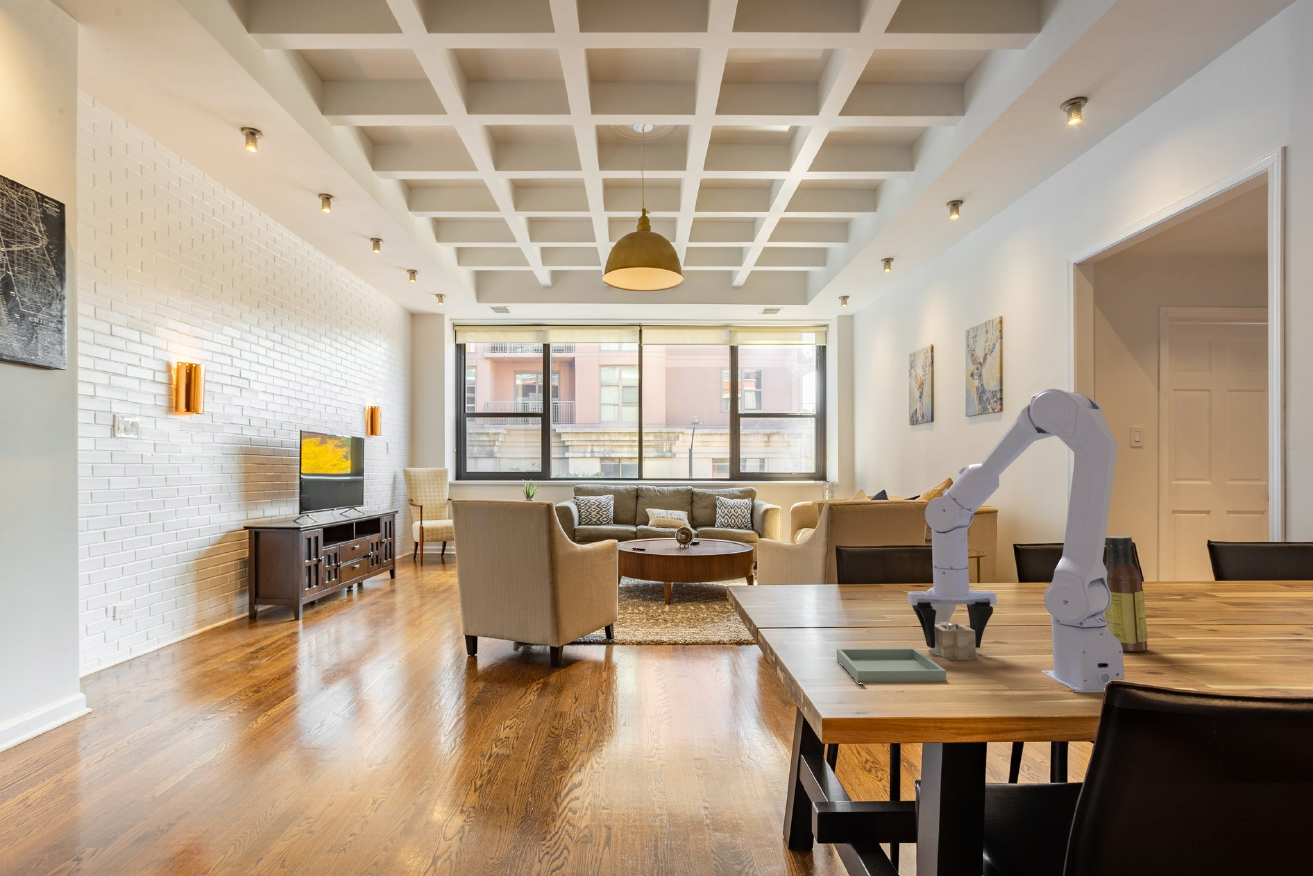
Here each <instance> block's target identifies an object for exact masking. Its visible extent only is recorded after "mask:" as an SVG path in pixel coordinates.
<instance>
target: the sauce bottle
mask: <svg viewBox="0 0 1313 876" xmlns="http://www.w3.org/2000/svg"><path fill="white" fill-rule="evenodd" d="M1132 545H1133V539H1132V536H1130V535H1129V536H1128V535H1106V539H1105V547H1106V564H1105V568H1106V570H1107V585H1108V587H1109V590H1110V592H1111V603H1110V606H1109V607H1108V609H1107V610H1106V611H1105V612H1104V615H1105V617H1106V620H1107V626H1108V630H1109V632H1110V633H1111V634H1112V635H1114V636H1115V637H1116V638H1117V639H1118V640H1119V642H1120V643H1121V645H1122V649H1123V652H1130V653H1131V652H1132V653H1139V652H1140V653H1141V652H1145V651H1147V650H1148V647H1149V646H1148V643H1147V642H1148V629H1147V618H1146V616H1147V615H1146V606H1145V596H1144V595H1145V593H1144V588H1143V578H1142V576H1141V574H1140V571H1139V569H1138V568H1137V567H1136V566H1135V564H1134V560H1133V554H1132Z"/></svg>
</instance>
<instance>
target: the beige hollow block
mask: <svg viewBox="0 0 1313 876" xmlns="http://www.w3.org/2000/svg"><path fill="white" fill-rule="evenodd" d="M947 623H948V622H938V624H935V648H931V649H932V650H934V651H935V652H936V653H938V654H939V655H941V656H942V657H955V658H957V659H958V660H959V661H966V660H967V661H968V660H970V659H968V657H976V653H977V648H976V641H975V630H973V629H971V628H970V626H969V627H968V626H966V625H965V624H963V623H957V624H958V629H947Z"/></svg>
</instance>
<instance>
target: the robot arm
mask: <svg viewBox="0 0 1313 876" xmlns="http://www.w3.org/2000/svg"><path fill="white" fill-rule="evenodd" d="M1051 437H1057V438H1059V439H1060V440H1061V441H1062V442H1063V443H1064V444H1065V445H1066V446H1067V447H1068V448H1069V450H1071V451H1072V452H1073V453H1074V462H1073V463H1074V464H1073V472H1072V479H1071V488H1070V495H1069V503H1068V510H1067V517H1066V518H1067V519H1066V523H1065V524H1066V525H1065V532H1064V533H1065V535H1064V540H1063V542H1064V543H1063V547H1062V548H1063V549H1062V556H1061V559H1060V560H1059V562H1058V564H1057V565H1056V568H1054V572H1053V577H1052V581H1051V582H1050V584H1049V585H1048V586H1047V588H1046V589H1045V591H1044V596H1043V602H1044V606H1045V608H1046V610H1047V612H1048V613H1049V614H1050V615H1051V617H1050V619H1051V636H1052V637H1051V641H1052V643H1051V644H1052V661H1053V663H1052V664H1053V670H1041V673H1042V674H1044V675H1046V676H1048V677H1049V678H1052V679H1054V680H1055V681H1057V682H1059V683H1061V684H1063V685H1065V686H1066V687H1069V689H1071V690H1072V692H1075V693H1105V692H1104V688H1105V686H1106V683H1107V682H1108V681H1110V680H1124V681H1125V666H1124V665H1125V663H1124V651H1123V649H1122V645H1121V643H1120V642H1119V640H1118V639H1117V638H1116V637H1115V636H1114V635H1112V634H1111V633H1110V632H1109V630H1108V626H1107V620H1106V617H1105V615H1104V612H1105V611H1106V610H1107V609H1108V607H1109V606H1110V603H1111V592H1110V590H1109V587H1108V585H1107V570H1106V568H1105V567H1106V564H1104V561H1103V560H1104V553H1105V552H1104V551H1105V547H1106V544H1105V539H1106V536H1107V529H1108V523H1109V522H1108V521H1109V516H1110V514H1109V513H1110V509H1111V499H1112V494H1113V493H1112V492H1113V484H1114V477H1115V469H1116V462H1117V461H1116V460H1117V455H1118V442H1117V438H1115V435H1114V433H1113V431H1112V430H1111V428H1110V425H1108V422H1107V421H1106V418H1105V416H1104V414H1103V408H1102V407H1101V405H1099V404H1098V403H1097V402H1095V401H1094V400H1093V399H1092V398H1090V397H1089V396H1087V395H1086V394H1084V393H1081V392H1075V391H1073V392H1069V391H1064V390H1061V389H1058V388H1049V389H1048V388H1047V389H1045V390H1043V391H1040V392H1039V393H1037V394H1036V395H1035V396H1034V397H1033V399H1032V400H1031V402H1030V403H1029V404H1026V405H1025V406H1024V407H1023V408H1022V410H1021V411H1020V412H1019V414H1018V416H1017V418H1016V419H1015V421H1014V422H1013V423H1012V425H1011V426H1010V427H1009V428H1008V429H1007V431H1006V432H1005V433H1004V434H1003V435H1002V436H1001V438H1000V439H999V441H998V442H997V443H996V444H995V445H994V447H993V448H992V449H991V450H990V452H989V453H988V454H987V456H985V458H984V459H983V460H982V462H981V463H972V464H969V465H968V466H962V467H961V469H960V470H959V471H958V473H959V476H958V477H957V478H956V480H955V481H954V482H953V483H952V484H951V485H950V487H949V488H944V489H943V491H942V492H941V494H942V496H941V497H935V498H931V500H929V502H928V504H927V505H926V508H925V510H924V518H925V521H926V523H927V525H928V526H929V527H930V528H931V550H932V551H931V553H932V575H933V576H932V578H933V580H932V581H933V586H932V587H934V591H927V590H925V591H908V592H907V604H908V605H910V606H911V607H912V610H913V611H914V613H915V614H916V616H917V619H918V621H919V623H920V626H921V628H922V632H923V635H924V639H925V643H926V646H927V647H928V648H930V649H932V648H935V617H936V610H934V609H933V606H931V604H956V605H966V608H967V613H968V618H969V628H971V629H973V630H975V641H976V649H980V648H981V644H982V643H981V642H982V640H983V639H982V638H983V636H984V635H983V634H984V631H985V629H986V626H987V624H988V622H989V620H990V618H991V616H993V613H994V606H995V605H996V606H997V593H996V592H993V591H981V590H980V591H979V590H970V576H969V574H970V573H969V545H968V544H969V543H968V541H969V540H968V530H969V527H970V526H971V525H972V523H973V521H974V518H975V516H974V514H975V513H976V512H977V511H978V510H979V509H980V508H981V507H982V505H983V504H984V503H985V502H986V501H987V500H988V499H989V498H990V497H991V496H992V495H993V494H994V493H995V492H996V491H997V489H999V488H1000V475H1002V473H1003V472H1004V471H1005V470H1006V469H1007V468H1008V467H1009V466H1010V465H1011V464H1012V463H1013V462H1015V460H1016V459H1017V458H1018V457H1019V456H1021V455H1022V454H1023V453H1024V452H1025V451H1026V450H1027V449H1028V448H1029V447H1030V446H1031V445H1032V444H1033V443H1034V442H1036V441H1039V440H1044V439H1048V438H1051ZM943 600H953V601H943ZM991 605H992V606H991ZM993 605H994V606H993Z"/></svg>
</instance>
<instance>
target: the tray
mask: <svg viewBox="0 0 1313 876" xmlns="http://www.w3.org/2000/svg"><path fill="white" fill-rule="evenodd" d="M837 660H838V661H839V662H840V663H841V664H842V665H843V666H844V668H845V669H846V670H847V671H848V672H849V673H850V675H852V677H853V678H854V679H855V680H856V681H857V682H858V683H860V682H861V683H865V682H868V683H869V682H878V683H879V682H882V683H884V682H947V670H946V669H945V668H943V667H942V666H940V665H939V664H938V663H937V662H935V661H934V660H932V659H931V658H929V657H928V656H926V655H925V654H924V653H922V652H921V651H920V650H919V649H917V648H916V647H914V648H913V647H912V648H911V647H910V648H907V647H906V648H905V647H903V648H902V647H899V648H898V647H897V648H896V647H894V648H893V647H891V648H890V647H889V648H888V647H887V648H881V647H880V648H876V647H875V648H873V647H872V648H836V661H837ZM838 661H837V662H838ZM844 668H843V669H844ZM845 669H844V670H845ZM846 670H845V671H846ZM850 675H849V676H850ZM852 677H851V678H852ZM853 678H852V679H853ZM854 679H853V680H854Z"/></svg>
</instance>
